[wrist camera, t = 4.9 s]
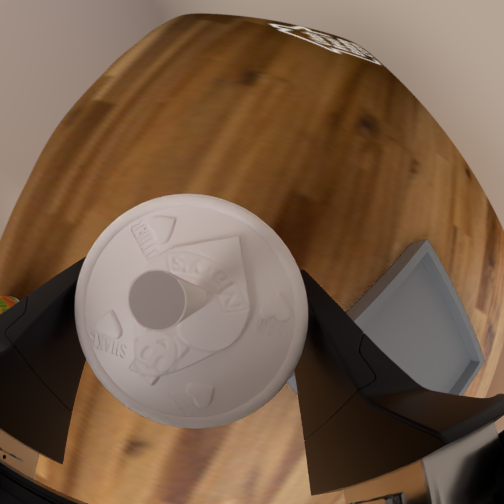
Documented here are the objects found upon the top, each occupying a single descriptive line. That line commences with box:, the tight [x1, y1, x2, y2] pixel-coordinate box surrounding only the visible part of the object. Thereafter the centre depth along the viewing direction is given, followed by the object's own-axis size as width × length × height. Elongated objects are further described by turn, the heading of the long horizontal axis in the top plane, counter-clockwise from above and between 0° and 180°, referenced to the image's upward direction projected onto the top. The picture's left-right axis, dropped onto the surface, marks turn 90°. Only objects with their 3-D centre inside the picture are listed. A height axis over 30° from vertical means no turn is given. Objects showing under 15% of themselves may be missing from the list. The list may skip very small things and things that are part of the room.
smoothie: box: [75, 194, 308, 428], centre depth 9 cm, size 6×6×14 cm
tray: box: [287, 239, 485, 396], centre depth 20 cm, size 17×17×2 cm
